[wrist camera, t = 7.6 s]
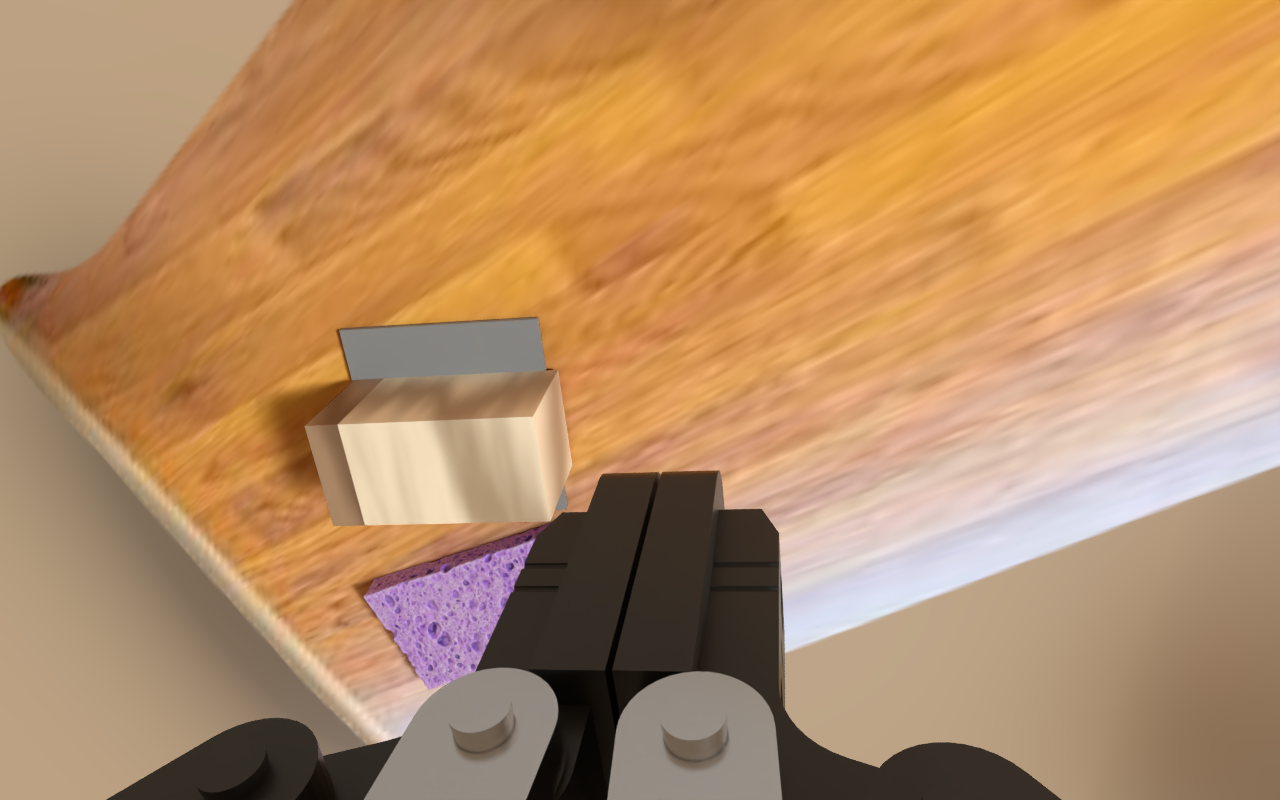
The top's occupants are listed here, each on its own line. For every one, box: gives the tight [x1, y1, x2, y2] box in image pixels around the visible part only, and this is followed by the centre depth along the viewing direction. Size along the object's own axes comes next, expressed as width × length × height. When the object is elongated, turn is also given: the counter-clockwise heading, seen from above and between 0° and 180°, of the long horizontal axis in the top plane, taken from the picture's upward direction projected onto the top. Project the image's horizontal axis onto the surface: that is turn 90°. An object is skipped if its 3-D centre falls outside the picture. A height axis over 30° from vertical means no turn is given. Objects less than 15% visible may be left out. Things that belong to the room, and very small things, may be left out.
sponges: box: [364, 523, 551, 689], centre depth 44 cm, size 7×13×2 cm, turn 114°
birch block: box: [304, 370, 572, 526], centre depth 38 cm, size 5×5×10 cm
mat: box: [339, 317, 568, 510], centre depth 40 cm, size 10×10×1 cm
